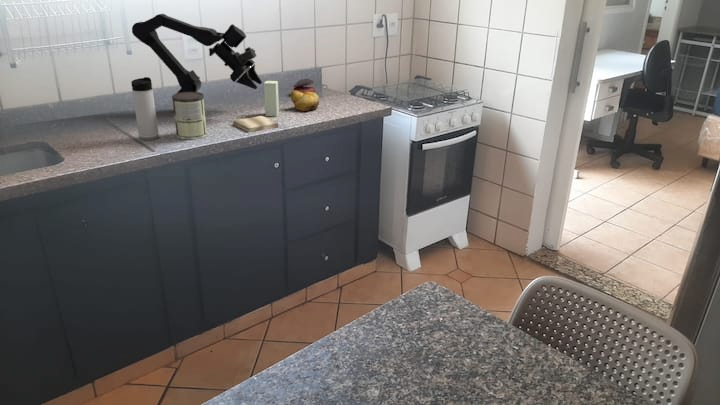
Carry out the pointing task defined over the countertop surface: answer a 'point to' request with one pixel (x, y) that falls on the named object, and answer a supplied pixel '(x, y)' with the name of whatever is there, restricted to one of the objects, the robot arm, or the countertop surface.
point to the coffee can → (189, 115)
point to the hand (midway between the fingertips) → (258, 85)
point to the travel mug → (145, 109)
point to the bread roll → (304, 100)
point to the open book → (255, 123)
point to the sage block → (271, 98)
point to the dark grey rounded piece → (304, 85)
